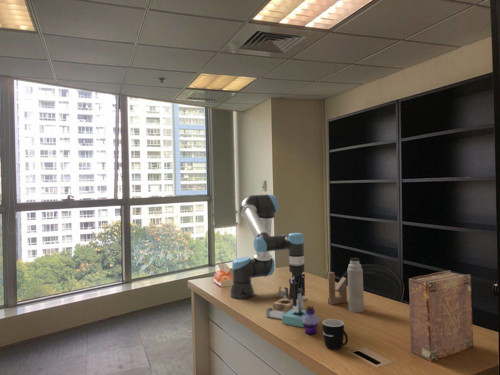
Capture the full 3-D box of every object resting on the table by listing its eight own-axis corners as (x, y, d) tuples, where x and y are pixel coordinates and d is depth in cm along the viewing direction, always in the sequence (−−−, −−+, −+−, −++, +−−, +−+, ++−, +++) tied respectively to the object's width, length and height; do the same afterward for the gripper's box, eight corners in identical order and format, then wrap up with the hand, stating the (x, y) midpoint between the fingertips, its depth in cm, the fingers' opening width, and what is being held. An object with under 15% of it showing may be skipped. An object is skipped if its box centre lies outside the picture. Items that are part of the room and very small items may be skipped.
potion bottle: (298, 330, 177) (297, 305, 177) (314, 327, 180) (313, 302, 180) (307, 337, 169) (306, 310, 169) (323, 334, 172) (323, 308, 172)
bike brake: (275, 296, 230) (293, 310, 213) (275, 286, 229) (294, 299, 212) (293, 293, 237) (313, 306, 220) (294, 283, 236) (314, 295, 219)
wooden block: (347, 302, 217) (346, 271, 216) (331, 305, 213) (330, 273, 213) (343, 300, 220) (342, 270, 220) (327, 303, 216) (326, 272, 216)
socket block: (282, 323, 187) (282, 315, 187) (293, 316, 197) (292, 308, 197) (304, 327, 181) (304, 319, 181) (314, 319, 191) (314, 311, 191)
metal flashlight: (292, 322, 188) (291, 288, 188) (296, 319, 192) (295, 286, 192) (300, 323, 186) (299, 289, 186) (304, 320, 190) (303, 287, 190)
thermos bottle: (350, 307, 209) (348, 256, 209) (364, 308, 205) (363, 257, 205) (347, 311, 201) (345, 259, 201) (362, 313, 198) (361, 260, 198)
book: (452, 339, 162) (450, 270, 162) (473, 347, 153) (471, 274, 153) (410, 352, 151) (408, 278, 151) (431, 362, 142) (428, 283, 142)
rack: (273, 312, 204) (272, 303, 204) (281, 307, 212) (281, 298, 212) (289, 315, 198) (289, 305, 198) (298, 309, 207) (297, 300, 207)
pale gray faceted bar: (266, 316, 197) (266, 309, 197) (269, 314, 200) (269, 307, 200) (289, 320, 190) (289, 313, 190) (292, 318, 193) (292, 311, 193)
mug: (318, 346, 160) (317, 322, 160) (332, 340, 165) (332, 317, 165) (340, 355, 150) (339, 330, 150) (355, 349, 155) (354, 325, 155)
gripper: (295, 268, 179) (297, 317, 179) (310, 261, 194) (312, 306, 195) (281, 266, 183) (283, 314, 184) (297, 260, 199) (299, 304, 199)
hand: (298, 310), depth 189 cm, fingers open, 5 cm apart
